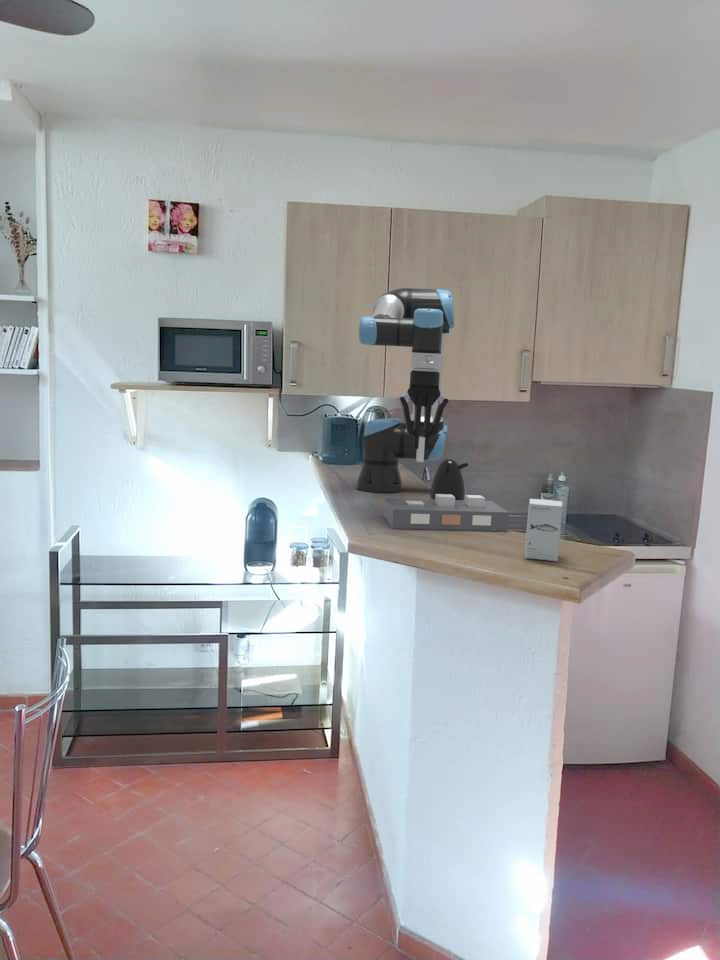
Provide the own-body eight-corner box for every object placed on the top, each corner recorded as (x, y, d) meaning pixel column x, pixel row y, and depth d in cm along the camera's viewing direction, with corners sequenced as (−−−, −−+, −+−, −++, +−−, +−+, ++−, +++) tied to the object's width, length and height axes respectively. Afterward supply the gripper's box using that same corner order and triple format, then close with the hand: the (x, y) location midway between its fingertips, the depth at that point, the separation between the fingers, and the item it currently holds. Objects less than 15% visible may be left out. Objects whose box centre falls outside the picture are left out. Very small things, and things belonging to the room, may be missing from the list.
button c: (463, 510, 212) (464, 494, 212) (479, 511, 213) (480, 495, 212) (467, 513, 208) (468, 497, 207) (484, 514, 208) (485, 498, 208)
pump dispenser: (463, 515, 222) (467, 462, 220) (427, 512, 224) (430, 459, 222) (466, 509, 232) (470, 458, 230) (431, 506, 234) (434, 455, 232)
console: (383, 516, 216) (384, 498, 215) (490, 518, 219) (491, 501, 219) (392, 529, 200) (393, 509, 199) (507, 531, 203) (509, 512, 203)
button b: (434, 509, 211) (435, 494, 211) (450, 510, 212) (451, 494, 211) (437, 513, 207) (438, 496, 206) (454, 513, 207) (455, 497, 207)
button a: (404, 516, 211) (405, 500, 210) (420, 516, 211) (421, 501, 210) (407, 519, 206) (408, 503, 206) (423, 520, 207) (424, 504, 206)
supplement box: (523, 559, 175) (528, 503, 174) (524, 551, 183) (529, 497, 181) (558, 562, 174) (563, 505, 172) (557, 554, 181) (562, 500, 179)
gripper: (402, 369, 199) (397, 462, 202) (453, 371, 200) (447, 464, 204) (397, 368, 206) (393, 458, 209) (447, 371, 207) (441, 460, 211)
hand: (419, 461), depth 206 cm, fingers closed
